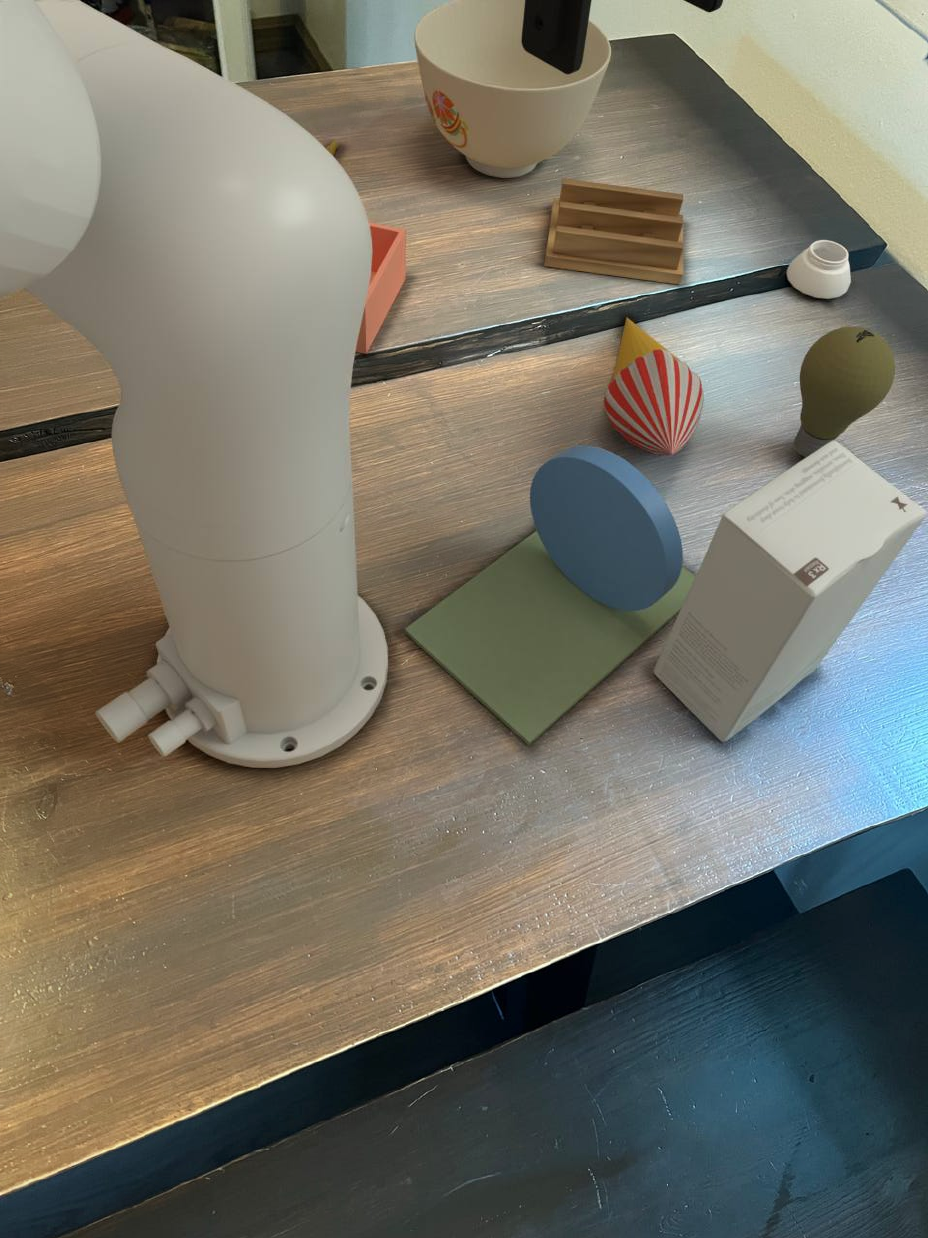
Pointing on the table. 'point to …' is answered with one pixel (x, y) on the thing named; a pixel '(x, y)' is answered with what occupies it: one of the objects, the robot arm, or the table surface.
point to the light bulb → (841, 384)
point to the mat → (534, 637)
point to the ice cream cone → (652, 395)
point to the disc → (606, 527)
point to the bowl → (502, 85)
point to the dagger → (332, 147)
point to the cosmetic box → (782, 585)
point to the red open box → (382, 280)
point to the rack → (617, 231)
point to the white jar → (821, 270)
